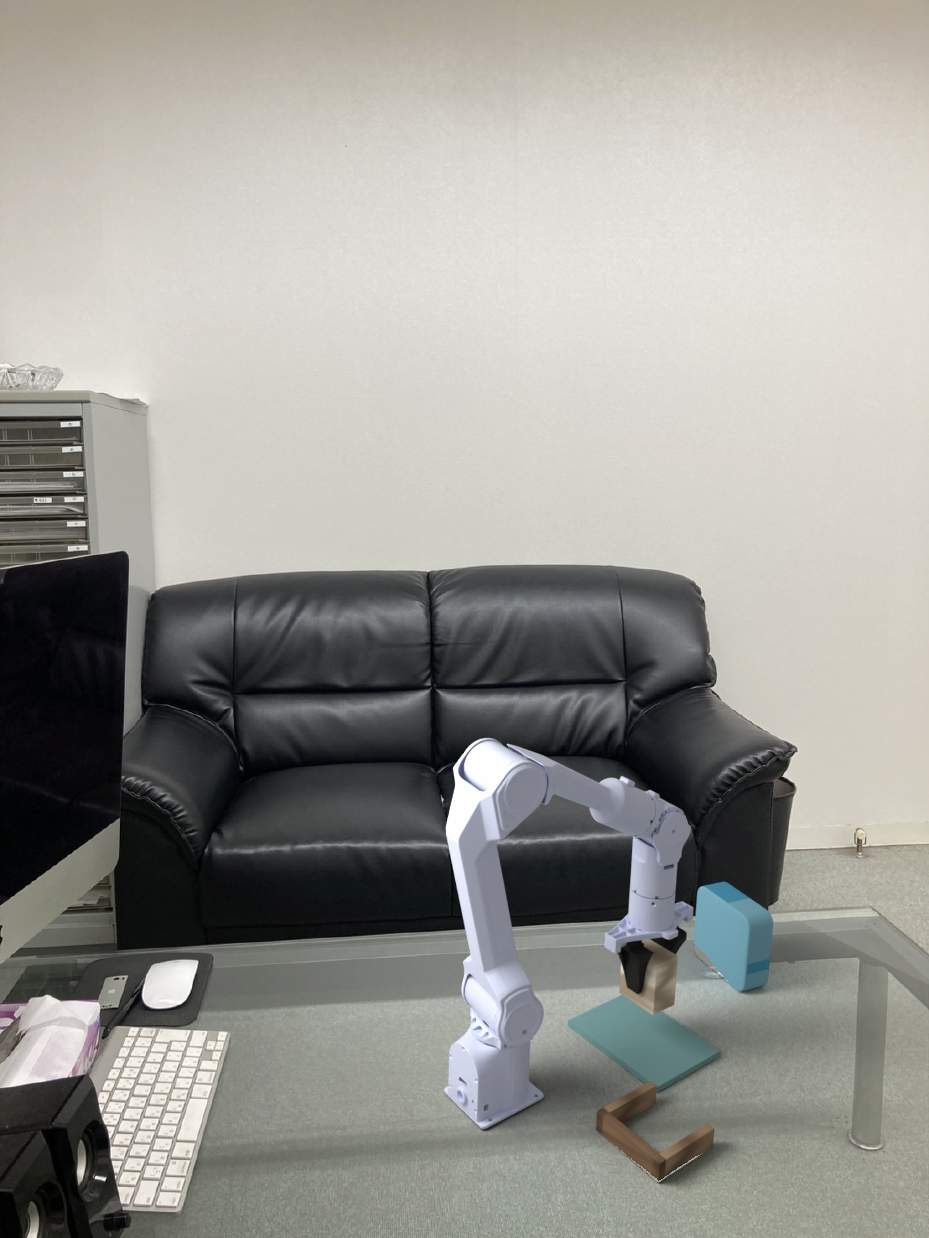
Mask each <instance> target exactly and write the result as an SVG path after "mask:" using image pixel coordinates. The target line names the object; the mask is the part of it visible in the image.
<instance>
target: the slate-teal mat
mask: <svg viewBox="0 0 929 1238" xmlns="http://www.w3.org/2000/svg"><path fill="white" fill-rule="evenodd" d="M567 1026H568V1027H569V1028H570V1029H572V1030H573V1031H575V1032H576V1033H577V1034H578V1035H580V1036H581V1037H583V1038H584V1039H585V1040H586V1041H588V1043H591V1045H593V1046H594V1047H595V1048H597V1049H598V1050H600V1052H602V1053H603V1054H605V1055H606V1056H608V1057H609V1058H610V1059H612V1060H613V1061H614V1062H616V1063H617V1064H618V1065H619V1066H620V1067H622V1068H623V1069H625V1070H626V1071H627V1072H629V1074H631V1075H633V1077H635V1078H636V1079H638V1080H639V1081H641V1083H643V1085H644V1084H646V1083H647V1082H649V1081H652V1082H653V1083H655V1084H656V1085H657V1092H656V1094H657V1093H659V1092H661V1091H663V1090H664V1089H666V1088H667V1087H669V1086H671V1085H673V1084H675V1083H677V1082H678V1081H680V1080H681V1079H683V1078H685V1077H687V1076H689V1075H690V1074H692V1073H693V1072H695V1071H697V1070H699V1069H701V1068H702V1067H705V1066H706V1065H707V1064H709V1063H710V1062H713V1061H714V1060H716V1059H718V1058H719V1057H721V1050H720V1049H719V1048H717V1047H715V1046H714V1045H712V1044H711V1043H709V1042H708V1041H706V1040H705V1039H704V1038H702V1037H700V1036H699V1035H697V1034H696V1033H694V1032H693V1031H692V1030H690V1029H688V1028H687V1027H686V1026H685V1025H682V1024H681V1023H679V1022H678V1021H676V1019H673V1018H672V1017H670V1016H669V1015H668V1014H666V1013H664V1012H663V1011H661V1012H659V1013H657V1014H655V1015H652V1014H650V1013H649V1012H647V1011H646V1010H644V1009H643V1008H641V1007H640V1006H638V1005H637V1004H636V1003H634V1002H633V1001H631V1000H630V999H628V998H627V997H625V996H624V995H622V994H620V995H619V996H616V997H615V998H612V999H610V1000H608V1001H606V1002H604V1003H602V1004H600V1005H598V1006H597V1005H596V1007H593V1008H591V1009H588V1010H587V1011H585V1012H583V1013H580V1014H579V1015H576V1016H574V1017H572V1018H570V1019H568V1021H567Z"/></svg>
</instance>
